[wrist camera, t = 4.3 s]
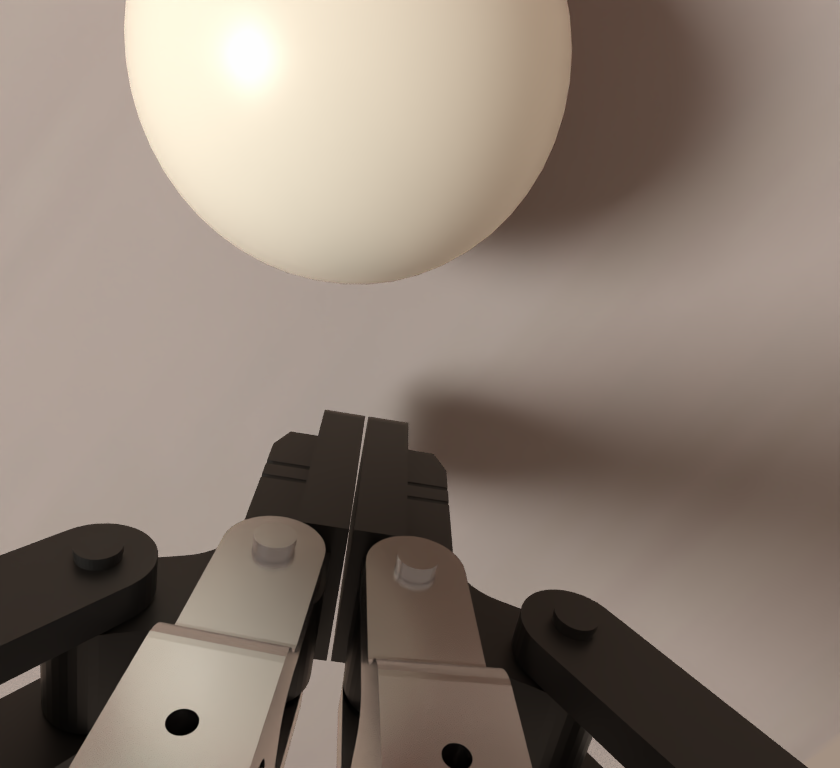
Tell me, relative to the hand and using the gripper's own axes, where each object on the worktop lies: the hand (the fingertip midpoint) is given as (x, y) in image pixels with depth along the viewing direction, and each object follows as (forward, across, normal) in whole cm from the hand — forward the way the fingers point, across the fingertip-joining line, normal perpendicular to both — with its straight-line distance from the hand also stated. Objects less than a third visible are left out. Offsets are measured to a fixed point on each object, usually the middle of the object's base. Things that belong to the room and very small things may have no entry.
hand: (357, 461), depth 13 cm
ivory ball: (-1, +1, -6) cm, 7 cm away
